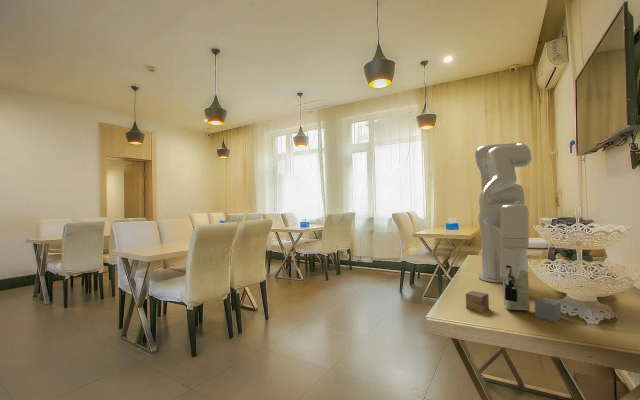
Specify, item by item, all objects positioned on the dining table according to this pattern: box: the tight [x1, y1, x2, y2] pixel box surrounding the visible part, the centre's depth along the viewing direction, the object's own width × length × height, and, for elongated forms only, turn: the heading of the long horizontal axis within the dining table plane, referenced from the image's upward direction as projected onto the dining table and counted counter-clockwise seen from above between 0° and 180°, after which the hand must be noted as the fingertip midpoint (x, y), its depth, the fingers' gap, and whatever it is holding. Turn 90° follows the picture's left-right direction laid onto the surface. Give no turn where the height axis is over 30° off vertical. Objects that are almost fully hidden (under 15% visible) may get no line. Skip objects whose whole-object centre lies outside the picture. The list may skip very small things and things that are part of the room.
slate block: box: [534, 296, 562, 323], centre depth 90 cm, size 5×5×5 cm
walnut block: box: [465, 290, 490, 313], centre depth 98 cm, size 5×5×5 cm
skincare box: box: [502, 271, 531, 311], centre depth 96 cm, size 6×4×12 cm
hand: (515, 297), depth 96 cm, fingers closed on skincare box, 6 cm apart
